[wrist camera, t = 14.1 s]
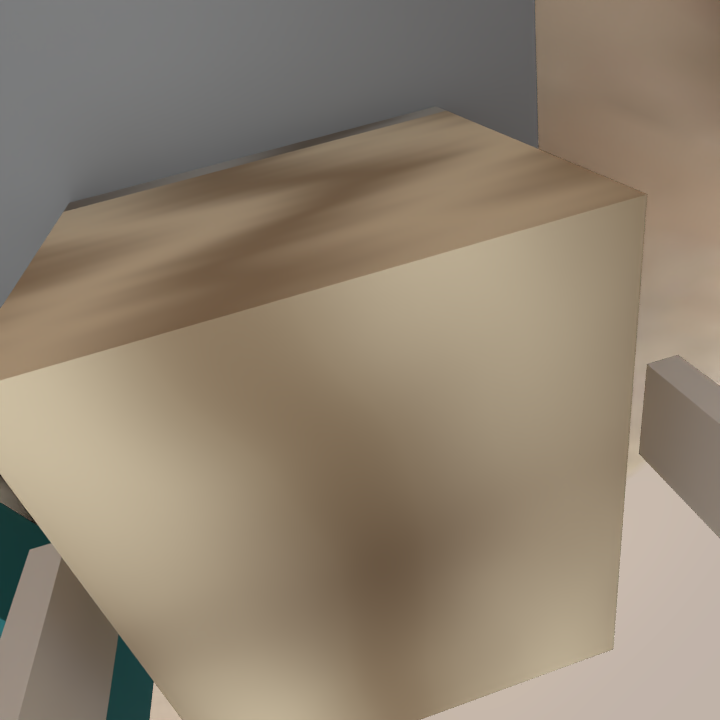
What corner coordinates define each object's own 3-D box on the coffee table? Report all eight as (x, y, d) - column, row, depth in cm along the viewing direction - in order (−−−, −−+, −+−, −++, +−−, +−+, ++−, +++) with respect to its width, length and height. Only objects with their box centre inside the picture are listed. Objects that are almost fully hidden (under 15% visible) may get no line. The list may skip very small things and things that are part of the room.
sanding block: (436, 106, 16) (646, 194, 9) (474, 435, 23) (613, 649, 15) (69, 202, 15) (-57, 397, 8) (220, 516, 22) (232, 787, 14)
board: (488, -434, 12) (522, -485, 11) (531, 496, 27) (548, 520, 26) (-331, -294, 11) (-400, -334, 9) (196, 607, 26) (196, 638, 25)
